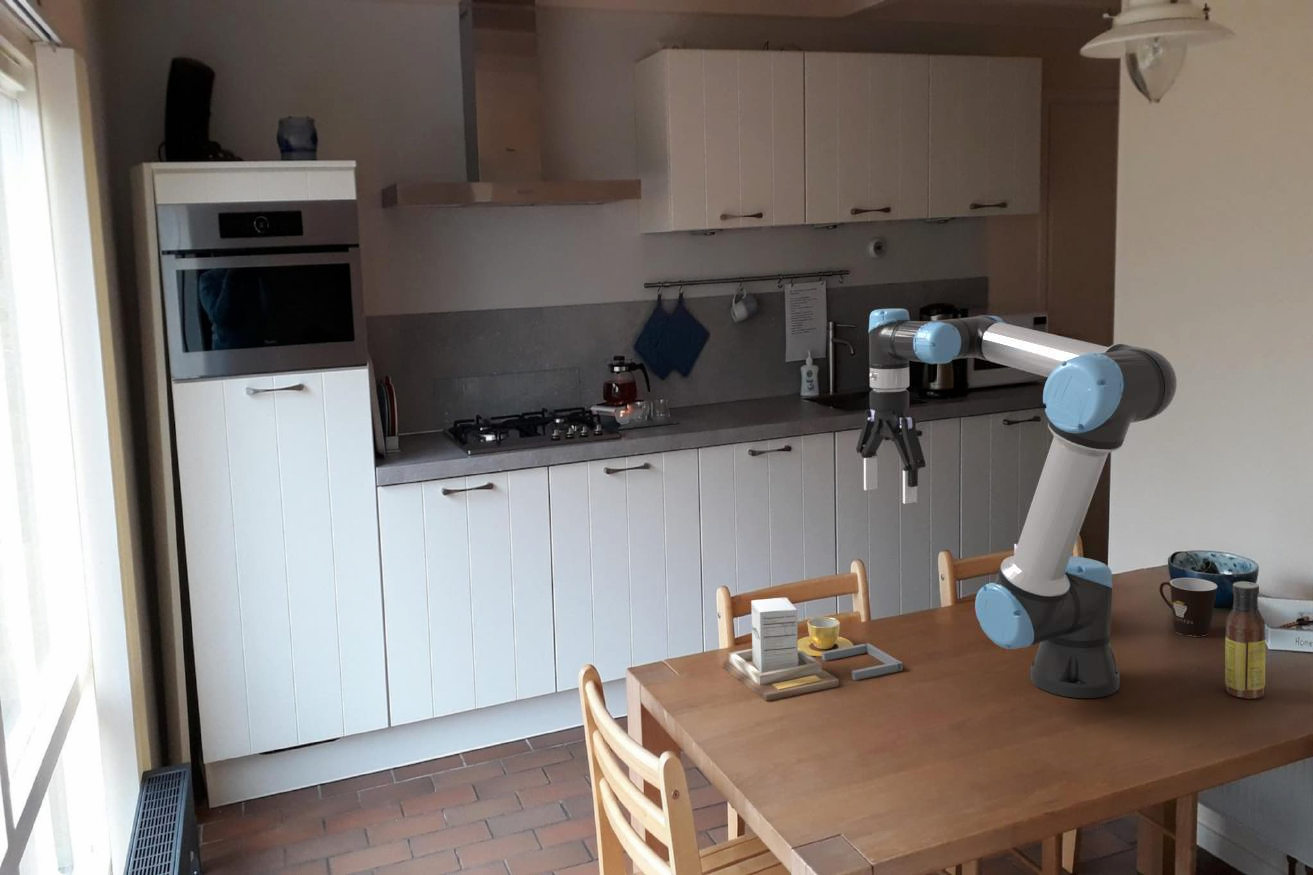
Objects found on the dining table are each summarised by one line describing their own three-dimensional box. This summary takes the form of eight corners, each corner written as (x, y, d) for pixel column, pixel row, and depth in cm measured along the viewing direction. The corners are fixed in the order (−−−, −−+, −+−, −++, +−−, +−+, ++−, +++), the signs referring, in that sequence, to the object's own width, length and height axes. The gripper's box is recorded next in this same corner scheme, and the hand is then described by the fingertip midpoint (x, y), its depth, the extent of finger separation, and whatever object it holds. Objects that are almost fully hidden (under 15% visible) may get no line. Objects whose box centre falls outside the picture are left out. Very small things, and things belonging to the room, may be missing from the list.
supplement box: (751, 662, 218) (750, 599, 216) (789, 658, 219) (788, 596, 217) (760, 676, 211) (759, 611, 208) (799, 673, 212) (798, 608, 209)
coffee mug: (1223, 638, 224) (1225, 590, 222) (1179, 640, 224) (1181, 591, 222) (1196, 619, 235) (1198, 572, 233) (1154, 620, 235) (1156, 574, 233)
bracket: (902, 670, 214) (902, 662, 214) (854, 680, 210) (854, 672, 210) (868, 650, 225) (868, 642, 225) (822, 659, 221) (822, 651, 221)
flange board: (838, 686, 208) (838, 670, 207) (766, 701, 202) (765, 685, 202) (791, 654, 224) (791, 640, 224) (723, 667, 219) (722, 652, 218)
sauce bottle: (1263, 689, 199) (1269, 580, 196) (1265, 702, 193) (1271, 591, 190) (1221, 684, 202) (1227, 577, 198) (1222, 697, 196) (1228, 587, 193)
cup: (865, 652, 225) (865, 626, 224) (812, 662, 220) (812, 636, 219) (834, 633, 236) (833, 608, 235) (783, 643, 231) (782, 617, 230)
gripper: (838, 384, 229) (839, 486, 233) (910, 398, 206) (910, 511, 210) (870, 381, 232) (871, 482, 235) (944, 394, 209) (944, 506, 213)
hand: (889, 496), depth 223 cm, fingers open, 13 cm apart
